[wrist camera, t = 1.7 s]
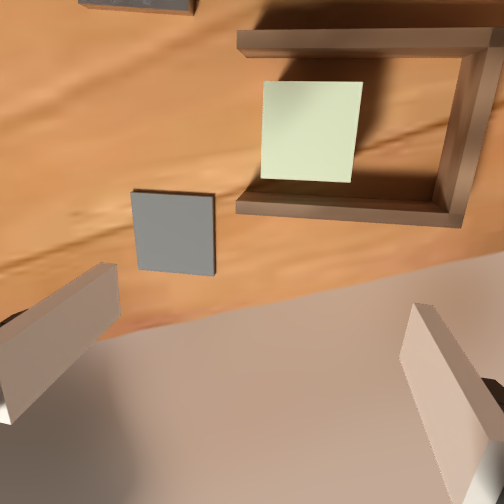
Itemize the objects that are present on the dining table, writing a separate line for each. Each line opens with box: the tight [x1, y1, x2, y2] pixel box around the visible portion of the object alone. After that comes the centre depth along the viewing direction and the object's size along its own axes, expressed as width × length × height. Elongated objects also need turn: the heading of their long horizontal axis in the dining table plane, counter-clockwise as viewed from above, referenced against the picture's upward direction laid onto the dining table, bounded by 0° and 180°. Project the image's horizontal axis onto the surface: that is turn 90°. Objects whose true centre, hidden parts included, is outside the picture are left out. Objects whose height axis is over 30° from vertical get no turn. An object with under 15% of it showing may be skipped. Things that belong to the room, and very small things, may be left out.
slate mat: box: [130, 192, 215, 277], centre depth 38 cm, size 9×9×1 cm
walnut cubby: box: [236, 27, 504, 228], centre depth 30 cm, size 14×19×4 cm
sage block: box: [261, 81, 363, 183], centre depth 29 cm, size 7×7×7 cm
